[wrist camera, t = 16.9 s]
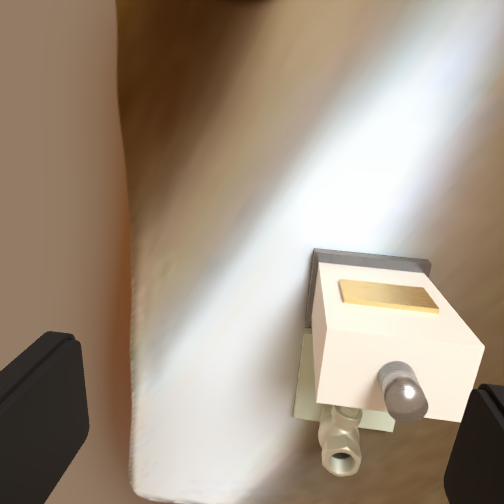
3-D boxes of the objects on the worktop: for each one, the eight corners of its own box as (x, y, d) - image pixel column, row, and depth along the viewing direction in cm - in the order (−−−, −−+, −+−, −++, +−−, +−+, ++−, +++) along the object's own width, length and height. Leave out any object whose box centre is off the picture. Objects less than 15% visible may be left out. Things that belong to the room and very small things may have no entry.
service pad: (304, 327, 42) (304, 333, 41) (409, 340, 41) (412, 346, 40) (293, 410, 45) (293, 418, 44) (390, 424, 44) (392, 432, 43)
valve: (360, 435, 44) (392, 345, 40) (369, 487, 38) (409, 386, 34) (302, 421, 44) (328, 331, 40) (302, 470, 38) (334, 369, 34)
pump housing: (314, 248, 39) (324, 337, 23) (427, 259, 38) (523, 361, 22) (305, 319, 41) (308, 445, 25) (411, 331, 40) (485, 471, 24)
